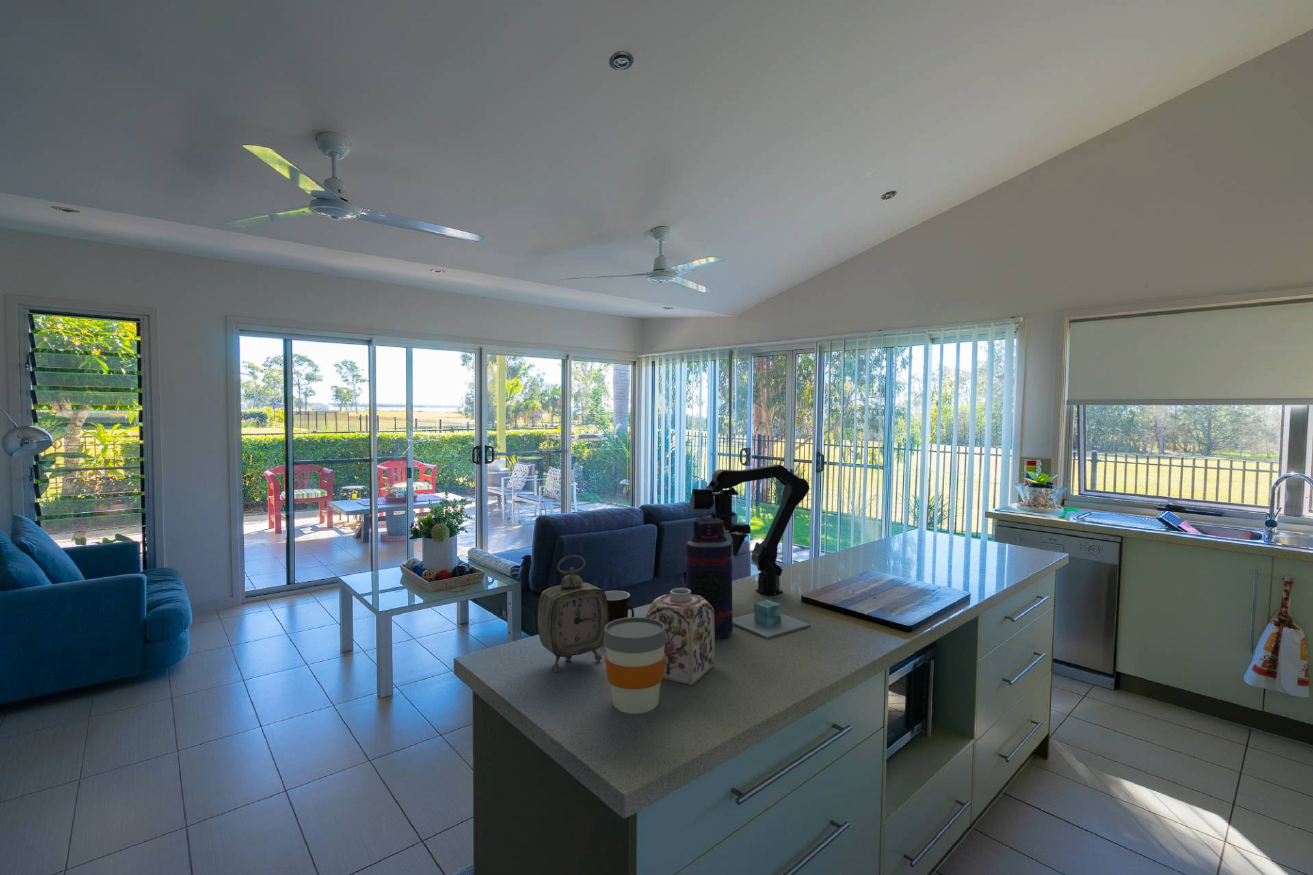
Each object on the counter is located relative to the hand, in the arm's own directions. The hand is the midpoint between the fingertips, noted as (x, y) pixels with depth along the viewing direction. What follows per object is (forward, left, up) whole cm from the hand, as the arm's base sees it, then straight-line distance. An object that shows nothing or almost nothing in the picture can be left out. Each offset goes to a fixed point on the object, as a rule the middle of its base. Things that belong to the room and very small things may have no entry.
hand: (723, 557), depth 187 cm
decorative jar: (+45, +39, -12) cm, 61 cm away
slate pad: (+8, +28, -12) cm, 31 cm away
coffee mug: (+46, +11, -12) cm, 49 cm away
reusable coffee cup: (+61, +46, -12) cm, 77 cm away
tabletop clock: (+63, +21, -12) cm, 68 cm away
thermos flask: (+25, +24, -12) cm, 37 cm away
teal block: (+8, +28, -11) cm, 31 cm away
